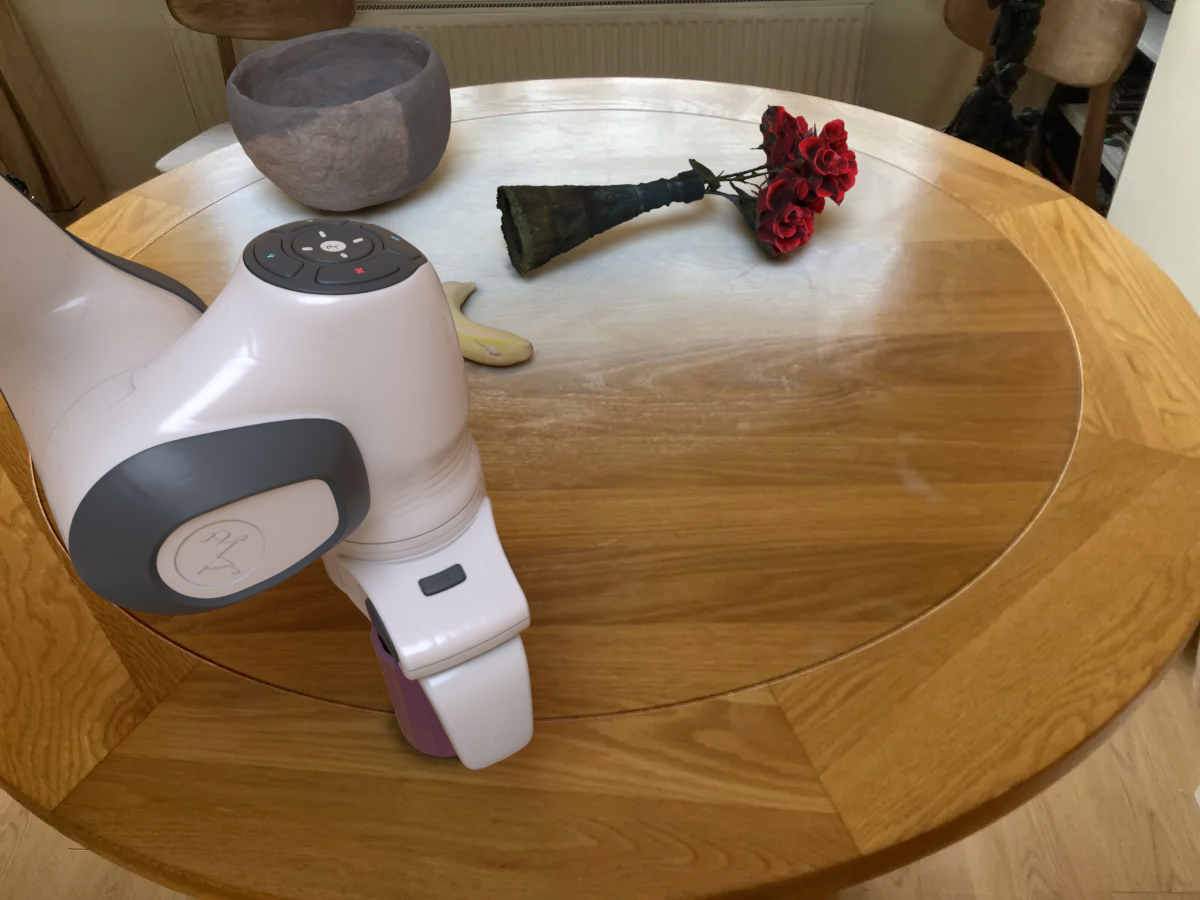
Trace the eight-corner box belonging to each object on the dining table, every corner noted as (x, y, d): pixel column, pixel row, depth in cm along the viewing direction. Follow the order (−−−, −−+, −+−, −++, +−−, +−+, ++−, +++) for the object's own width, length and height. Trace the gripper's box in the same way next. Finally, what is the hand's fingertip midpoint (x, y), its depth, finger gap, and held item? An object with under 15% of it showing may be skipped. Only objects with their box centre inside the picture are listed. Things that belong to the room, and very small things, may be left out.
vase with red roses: (528, 336, 104) (819, 254, 110) (552, 313, 86) (899, 215, 92) (486, 195, 103) (782, 120, 109) (500, 141, 85) (854, 55, 91)
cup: (421, 776, 57) (394, 690, 51) (384, 693, 62) (354, 605, 56) (522, 726, 60) (507, 638, 54) (479, 649, 64) (460, 560, 58)
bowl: (289, 264, 102) (249, 128, 92) (235, 176, 118) (195, 52, 108) (498, 202, 111) (481, 71, 100) (420, 128, 127) (400, 8, 116)
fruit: (464, 390, 85) (459, 360, 83) (406, 308, 95) (400, 279, 93) (537, 365, 87) (534, 335, 85) (473, 287, 97) (469, 259, 95)
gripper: (288, 426, 55) (341, 582, 64) (415, 691, 41) (460, 840, 51) (392, 390, 57) (429, 546, 66) (546, 630, 43) (566, 784, 53)
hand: (444, 676), depth 58 cm, fingers closed on cup, 7 cm apart
